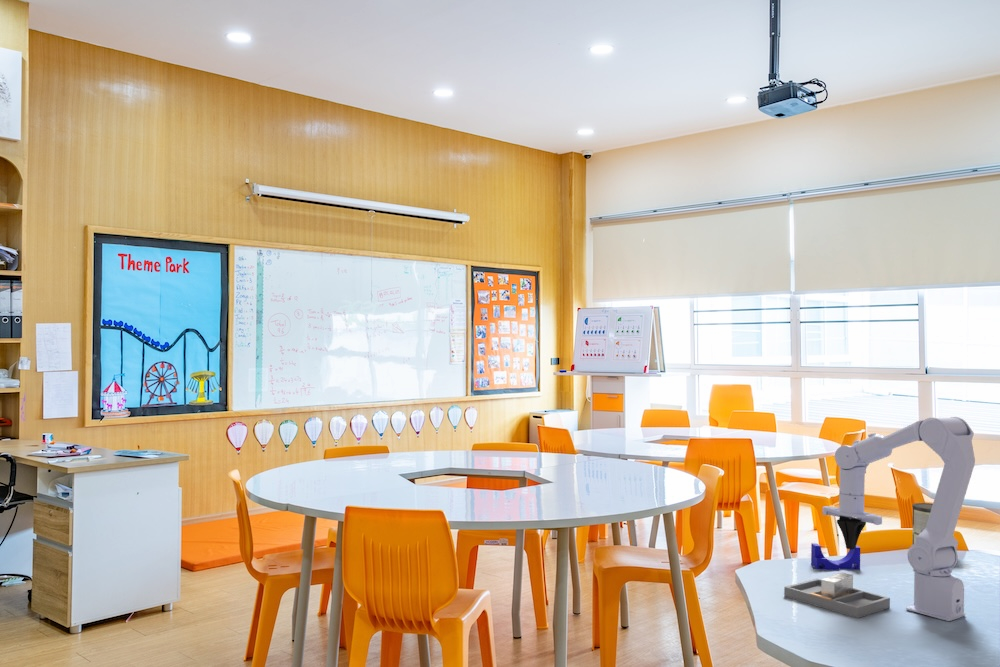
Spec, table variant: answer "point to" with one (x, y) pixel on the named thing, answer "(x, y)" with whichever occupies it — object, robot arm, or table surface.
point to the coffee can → (920, 517)
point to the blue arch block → (845, 563)
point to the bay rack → (838, 599)
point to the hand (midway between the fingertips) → (850, 548)
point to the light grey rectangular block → (837, 585)
